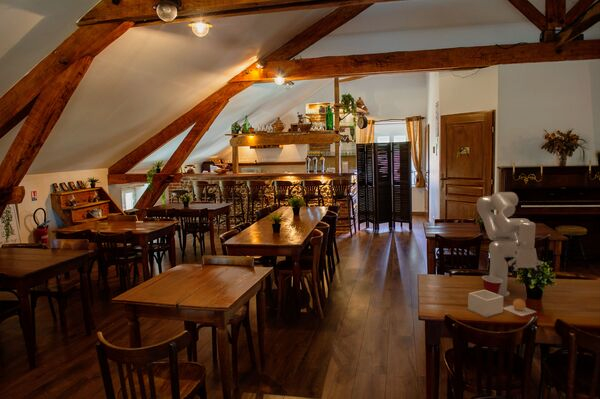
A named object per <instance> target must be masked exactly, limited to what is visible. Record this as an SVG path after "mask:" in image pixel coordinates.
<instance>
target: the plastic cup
mask: <svg viewBox="0 0 600 399" xmlns="http://www.w3.org/2000/svg"><path fill="white" fill-rule="evenodd" d="M481 278H482V283H483V290H487V291H490V292H493V293H495V294H498V292H499V288H500V285H501V283H502V282H503V280H502V279H500V278H498V277H494V276H490V275H482V277H481Z"/></svg>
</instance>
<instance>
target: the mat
mask: <svg viewBox="0 0 600 399" xmlns="http://www.w3.org/2000/svg"><path fill="white" fill-rule="evenodd" d="M503 310H505V311H507V312H510V313H512V314H515V315H517V316H520V317H524V316H528V315H531V314H534V313H537V311H536V310H533V309H531V308H528V307H525V308H524V309H523V310H517V309H515V308H514V306H513V304H512V305H508V306H503Z"/></svg>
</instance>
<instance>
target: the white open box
mask: <svg viewBox="0 0 600 399" xmlns="http://www.w3.org/2000/svg"><path fill="white" fill-rule="evenodd" d="M467 297H468V299H467V303H468V304H467V310H468V311H471V312H473V313H476V314H477V315H480V316H482V317H485V318H490V317H491V316H493V315H498V314H502V313H503V312H504V309H503V308H504V297H505V296H501V295H498V294H495V293H493V292H490V291H487V290H484V289H482V290H477V291H473V292H469V293H468V296H467Z"/></svg>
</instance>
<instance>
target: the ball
mask: <svg viewBox="0 0 600 399" xmlns="http://www.w3.org/2000/svg"><path fill="white" fill-rule="evenodd" d="M512 305H513V306H514V308H515V309H517V310H523V309H524V308H525V307H526V306H527V305H526V302H525V300H523V299H521V298H516V299H514V300H513V302H512ZM526 308H527V307H526Z"/></svg>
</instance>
